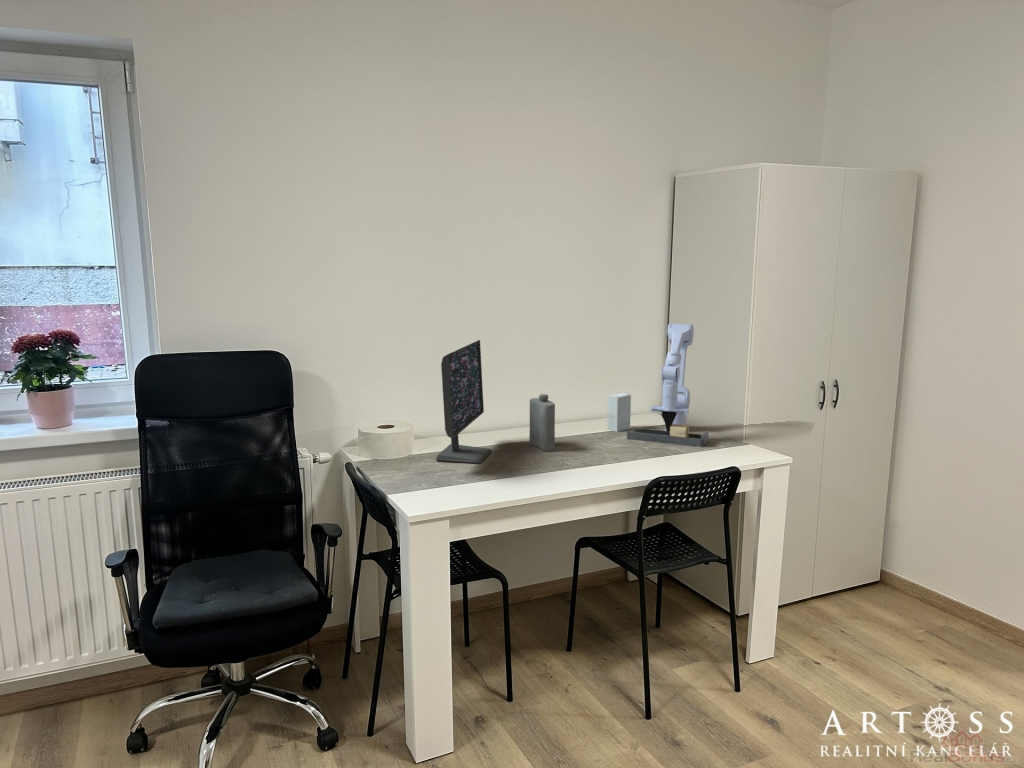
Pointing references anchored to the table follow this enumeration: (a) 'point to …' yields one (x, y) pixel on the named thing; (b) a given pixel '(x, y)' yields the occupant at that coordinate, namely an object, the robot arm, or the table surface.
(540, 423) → the flask
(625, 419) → the skincare box
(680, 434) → the maple block
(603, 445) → the table surface
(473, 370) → the computer monitor
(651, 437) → the chute
